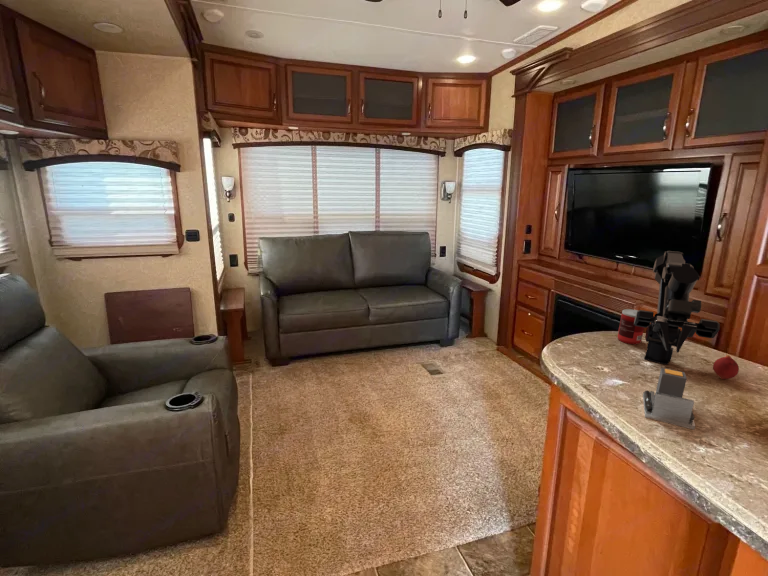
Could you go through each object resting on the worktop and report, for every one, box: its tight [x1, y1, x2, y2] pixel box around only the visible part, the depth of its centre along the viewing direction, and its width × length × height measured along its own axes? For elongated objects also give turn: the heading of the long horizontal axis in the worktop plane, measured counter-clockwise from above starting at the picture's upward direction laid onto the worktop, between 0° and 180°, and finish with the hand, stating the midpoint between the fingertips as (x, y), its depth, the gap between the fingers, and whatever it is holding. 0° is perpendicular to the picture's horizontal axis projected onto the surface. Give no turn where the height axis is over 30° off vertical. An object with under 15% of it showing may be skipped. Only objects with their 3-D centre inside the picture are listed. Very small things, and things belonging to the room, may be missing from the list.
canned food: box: [617, 308, 645, 345], centre depth 145 cm, size 8×8×11 cm
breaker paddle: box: [654, 367, 687, 398], centre depth 102 cm, size 4×5×9 cm
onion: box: [712, 353, 740, 381], centre depth 117 cm, size 6×6×8 cm
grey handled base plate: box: [642, 390, 696, 431], centre depth 100 cm, size 12×10×7 cm
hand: (672, 351), depth 107 cm, fingers open, 2 cm apart
